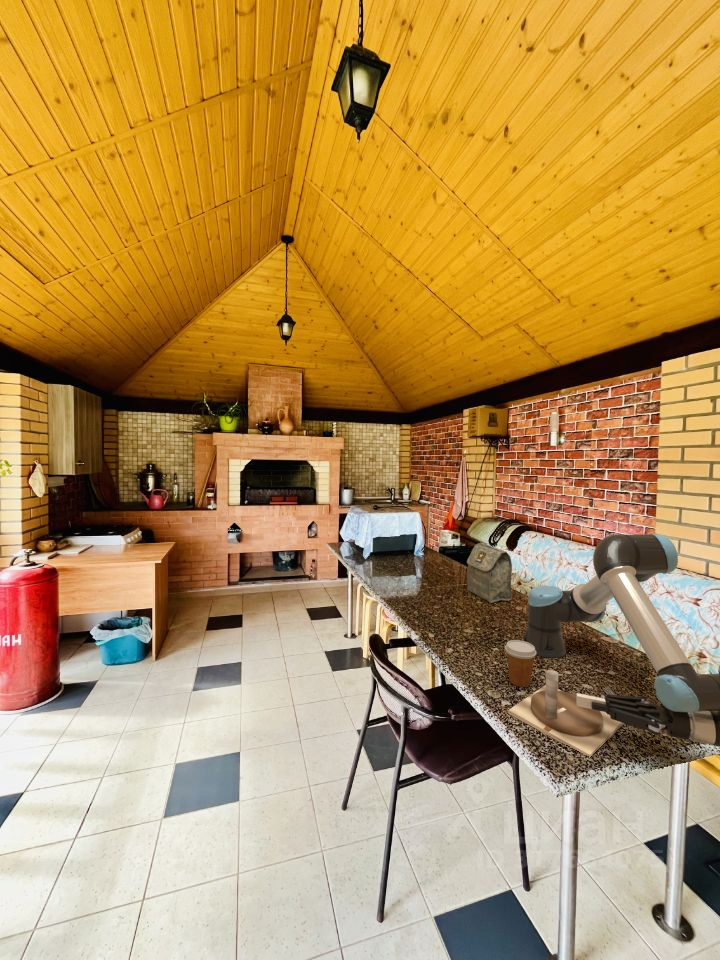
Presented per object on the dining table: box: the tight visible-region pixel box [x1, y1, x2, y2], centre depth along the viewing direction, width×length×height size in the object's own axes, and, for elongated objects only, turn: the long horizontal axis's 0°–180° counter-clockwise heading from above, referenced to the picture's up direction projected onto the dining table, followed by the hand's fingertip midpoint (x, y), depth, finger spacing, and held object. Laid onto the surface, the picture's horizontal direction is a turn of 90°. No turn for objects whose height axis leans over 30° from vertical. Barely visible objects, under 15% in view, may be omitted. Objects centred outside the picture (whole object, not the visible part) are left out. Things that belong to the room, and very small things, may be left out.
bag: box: [466, 541, 513, 604], centre depth 214 cm, size 22×16×27 cm
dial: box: [531, 669, 603, 735], centre depth 113 cm, size 18×18×14 cm
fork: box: [602, 687, 616, 695], centre depth 118 cm, size 3×16×2 cm, turn 15°
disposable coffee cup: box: [504, 639, 537, 688], centre depth 131 cm, size 10×10×12 cm
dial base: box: [507, 684, 625, 758], centre depth 113 cm, size 22×22×1 cm
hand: (576, 699), depth 106 cm, fingers closed
